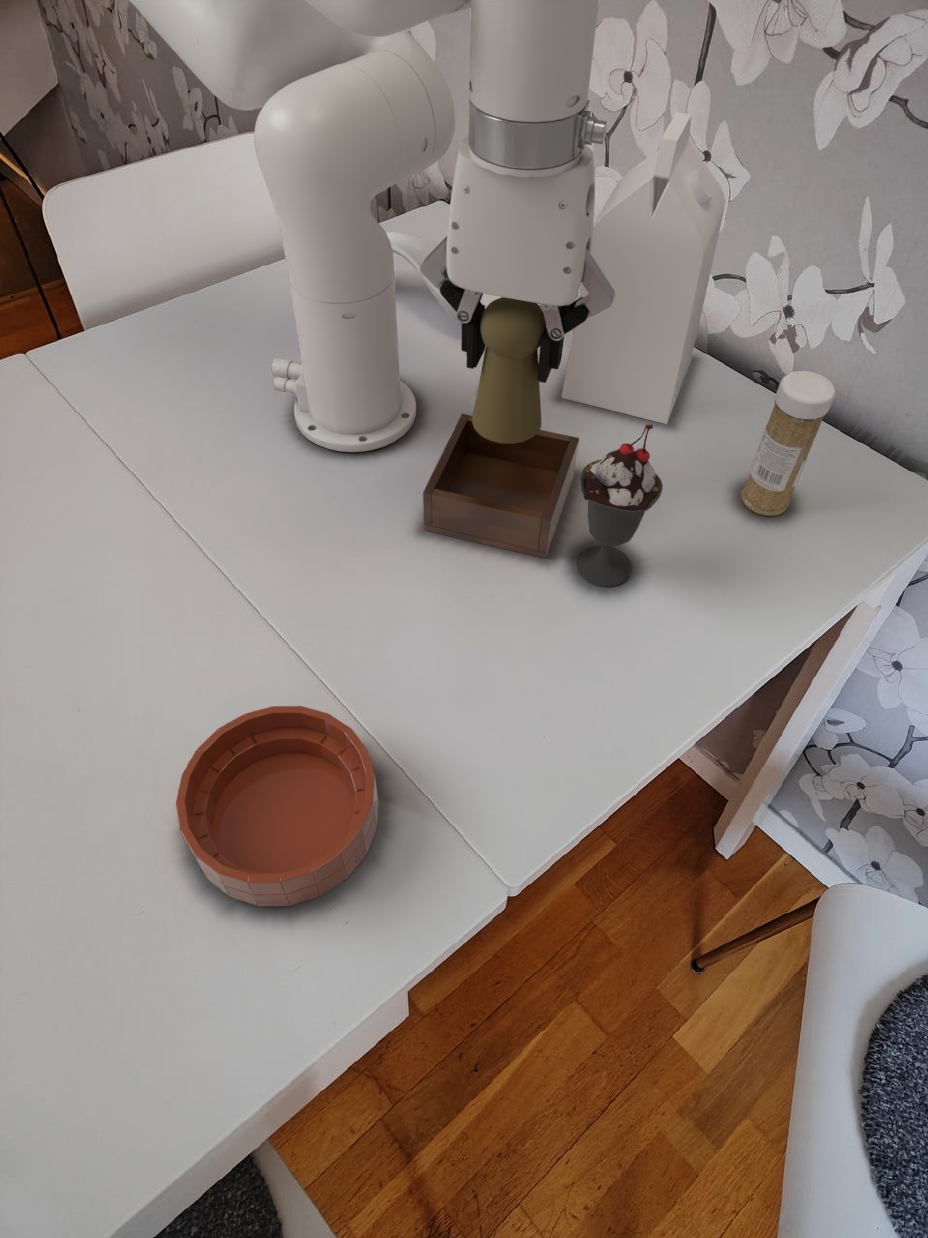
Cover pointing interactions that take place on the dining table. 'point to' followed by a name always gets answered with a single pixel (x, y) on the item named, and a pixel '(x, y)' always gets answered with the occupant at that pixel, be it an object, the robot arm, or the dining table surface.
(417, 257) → the spoon rest
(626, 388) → the milk
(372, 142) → the robot arm
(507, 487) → the holder
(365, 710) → the dining table surface
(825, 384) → the sprinkles bottle
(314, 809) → the bowl
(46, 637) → the dining table surface
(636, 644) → the dining table surface
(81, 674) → the dining table surface
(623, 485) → the sundae
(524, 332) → the olive brown knobbed cylinder
